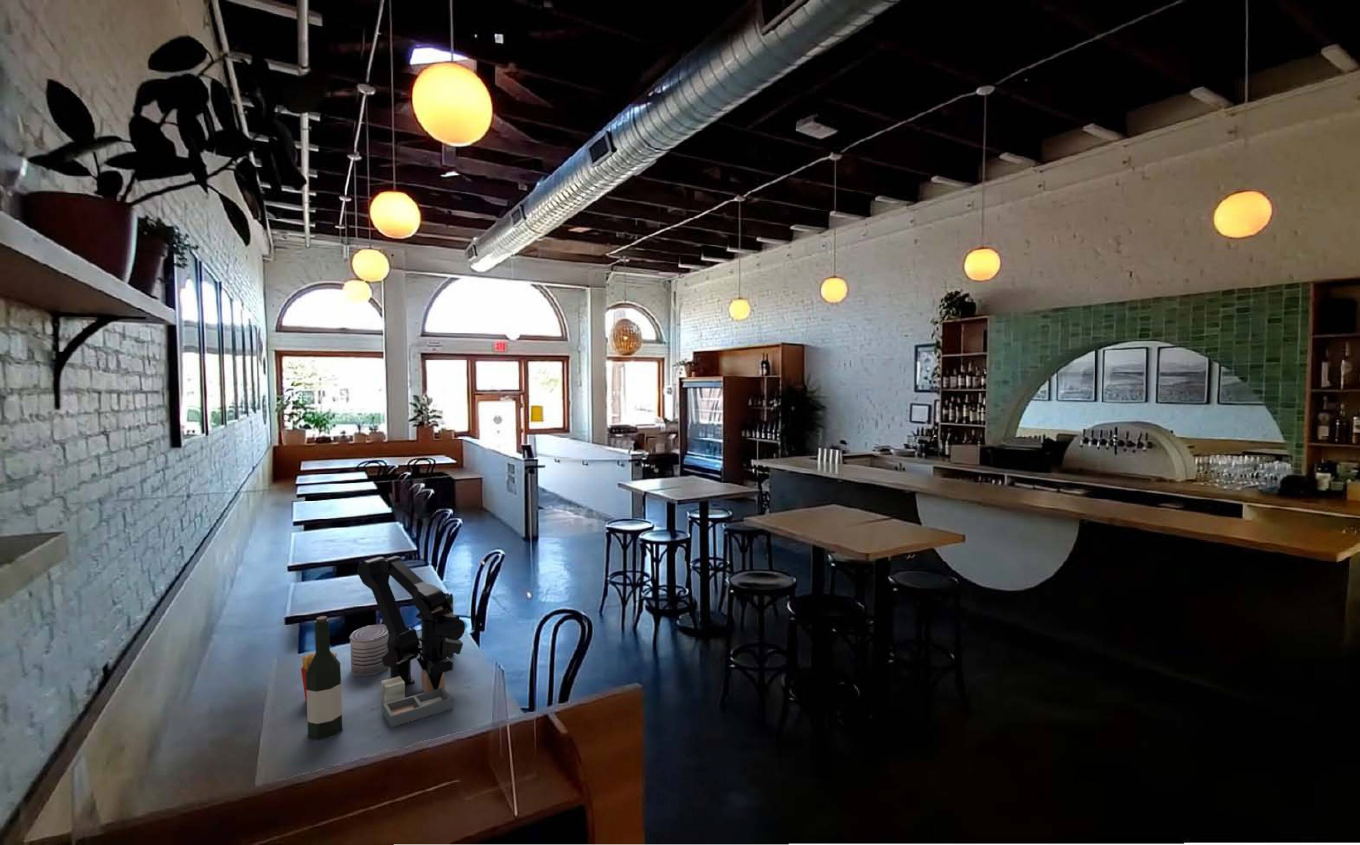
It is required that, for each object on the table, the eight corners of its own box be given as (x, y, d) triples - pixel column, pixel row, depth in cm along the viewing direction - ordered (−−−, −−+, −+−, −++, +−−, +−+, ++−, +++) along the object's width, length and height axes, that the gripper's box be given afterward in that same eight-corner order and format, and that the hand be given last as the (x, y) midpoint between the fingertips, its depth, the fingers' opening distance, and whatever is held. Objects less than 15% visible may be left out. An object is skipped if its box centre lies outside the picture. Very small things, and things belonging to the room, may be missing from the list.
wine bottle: (316, 723, 172) (312, 612, 170) (349, 722, 173) (345, 611, 171) (300, 740, 164) (296, 624, 162) (335, 739, 164) (331, 623, 163)
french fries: (300, 703, 183) (298, 658, 182) (306, 696, 187) (305, 652, 186) (335, 700, 184) (333, 656, 183) (340, 693, 188) (339, 650, 188)
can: (398, 665, 207) (397, 628, 207) (364, 679, 198) (363, 640, 197) (377, 657, 213) (376, 622, 213) (343, 670, 204) (342, 633, 203)
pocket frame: (383, 714, 176) (383, 704, 176) (443, 697, 186) (442, 687, 186) (391, 727, 170) (390, 716, 170) (452, 709, 179) (452, 698, 179)
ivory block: (381, 701, 184) (381, 681, 184) (400, 696, 187) (400, 676, 187) (386, 708, 180) (385, 687, 180) (405, 703, 183) (404, 682, 183)
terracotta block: (422, 690, 191) (421, 670, 190) (439, 685, 194) (438, 665, 193) (427, 696, 187) (426, 676, 186) (444, 691, 190) (444, 671, 189)
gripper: (470, 637, 186) (471, 690, 187) (449, 618, 201) (450, 667, 202) (430, 646, 180) (432, 701, 181) (412, 626, 195) (413, 677, 195)
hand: (433, 685), depth 190 cm, fingers closed on terracotta block, 5 cm apart
